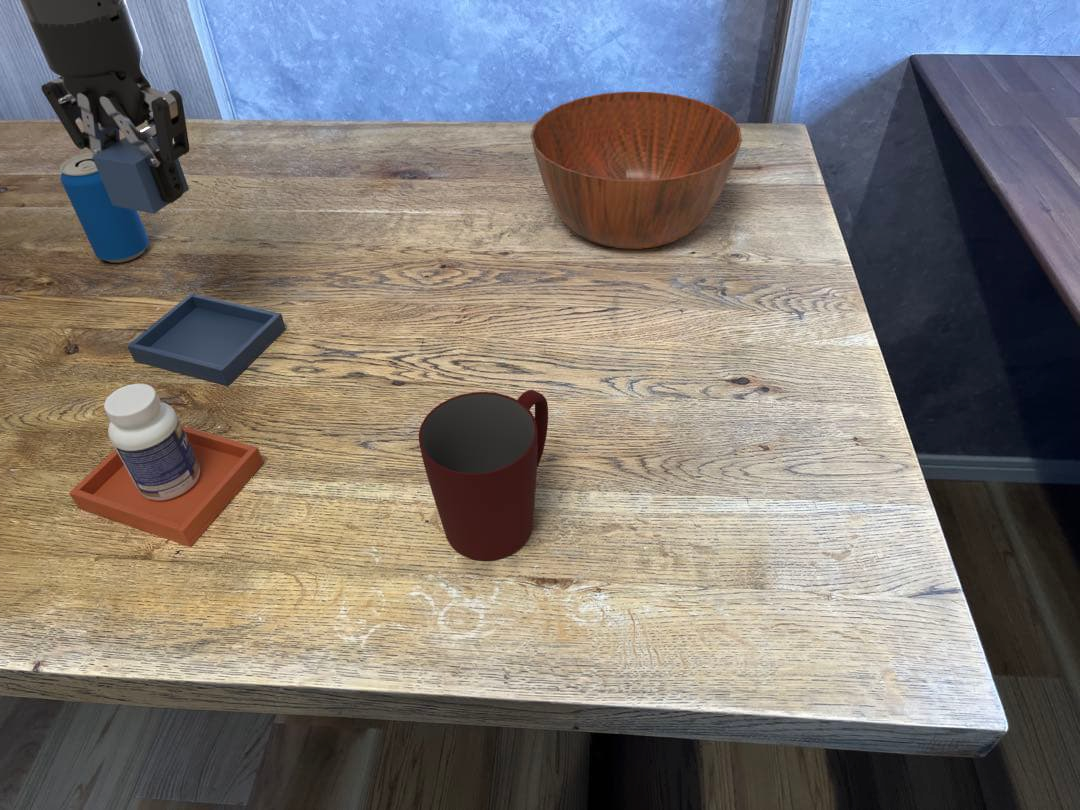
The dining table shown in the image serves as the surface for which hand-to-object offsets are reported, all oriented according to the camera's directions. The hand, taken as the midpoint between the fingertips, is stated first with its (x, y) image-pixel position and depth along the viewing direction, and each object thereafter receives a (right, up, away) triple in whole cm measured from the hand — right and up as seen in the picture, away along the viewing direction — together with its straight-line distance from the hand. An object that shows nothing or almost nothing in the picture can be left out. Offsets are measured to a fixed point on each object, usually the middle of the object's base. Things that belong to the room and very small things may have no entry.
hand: (150, 193), depth 78 cm
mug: (+34, -30, -9) cm, 46 cm away
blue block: (0, 0, 0) cm, 0 cm away
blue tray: (+2, -14, +10) cm, 17 cm away
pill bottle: (+4, -27, -5) cm, 28 cm away
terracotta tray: (+5, -27, -5) cm, 28 cm away
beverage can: (-15, -1, +25) cm, 29 cm away
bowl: (+49, +4, +27) cm, 56 cm away
